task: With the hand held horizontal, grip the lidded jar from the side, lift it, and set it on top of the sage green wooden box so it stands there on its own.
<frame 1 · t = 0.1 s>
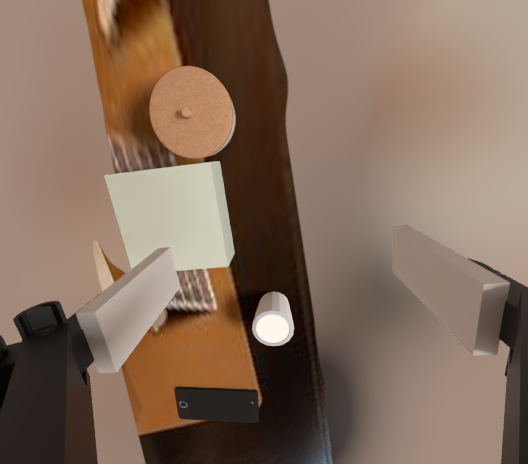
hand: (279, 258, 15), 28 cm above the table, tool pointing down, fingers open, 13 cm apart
white tapered cup: (274, 304, 48), on the table
sage box: (183, 213, 44), on the table
lidded jar: (207, 122, 39), on the table
cell phone: (218, 401, 57), on the table
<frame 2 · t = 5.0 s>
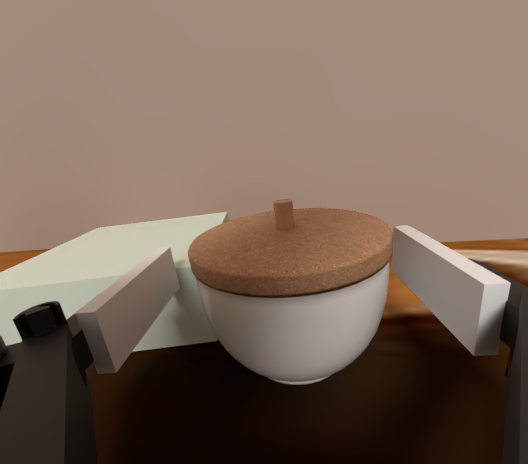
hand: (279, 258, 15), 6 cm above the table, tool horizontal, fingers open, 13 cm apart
sage box: (149, 297, 25), on the table
lidded jar: (296, 346, 16), on the table
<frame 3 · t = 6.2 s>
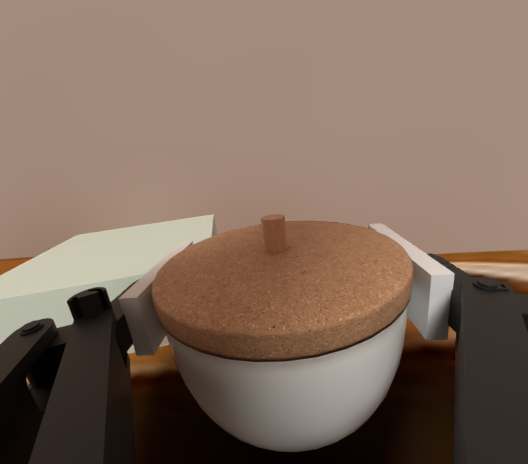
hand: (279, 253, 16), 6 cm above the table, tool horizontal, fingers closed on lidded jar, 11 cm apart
sage box: (141, 301, 25), on the table
lidded jar: (291, 388, 14), on the table, touching gripper
when the fingers open (13 cm above the table, at t = 11.0 s): lidded jar drops 1 cm, point 6 cm above the table.
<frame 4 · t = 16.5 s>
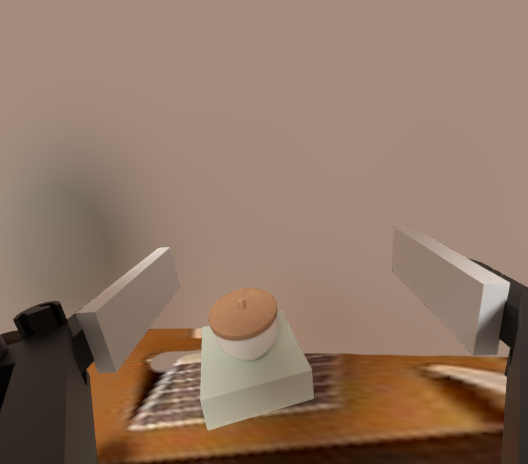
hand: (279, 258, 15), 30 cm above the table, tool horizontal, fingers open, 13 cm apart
sage box: (253, 373, 45), on the table
lidded jar: (251, 345, 42), point 6 cm above the table
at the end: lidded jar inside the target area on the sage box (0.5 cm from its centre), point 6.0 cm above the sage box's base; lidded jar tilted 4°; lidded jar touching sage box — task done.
